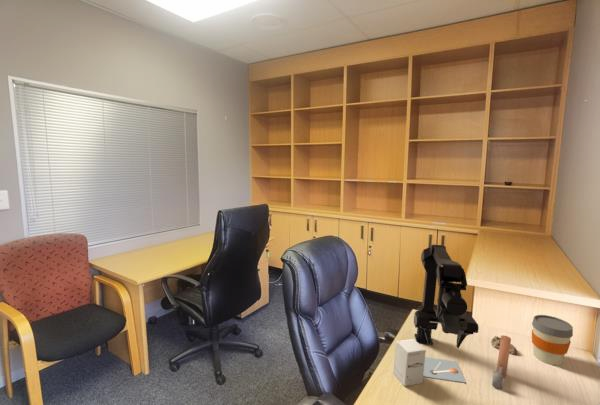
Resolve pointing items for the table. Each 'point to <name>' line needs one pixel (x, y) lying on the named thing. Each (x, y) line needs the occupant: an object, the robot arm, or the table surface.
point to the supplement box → (409, 362)
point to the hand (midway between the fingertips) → (442, 345)
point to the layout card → (442, 370)
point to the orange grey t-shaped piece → (502, 362)
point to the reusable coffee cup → (550, 339)
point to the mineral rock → (496, 344)
